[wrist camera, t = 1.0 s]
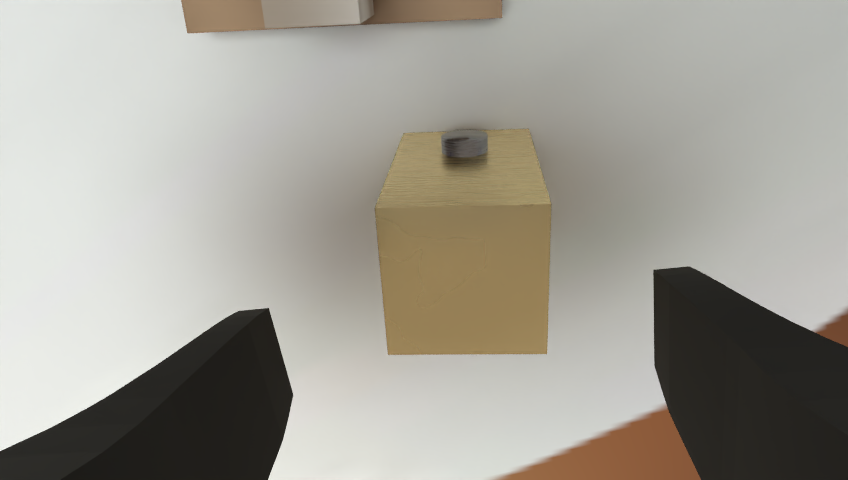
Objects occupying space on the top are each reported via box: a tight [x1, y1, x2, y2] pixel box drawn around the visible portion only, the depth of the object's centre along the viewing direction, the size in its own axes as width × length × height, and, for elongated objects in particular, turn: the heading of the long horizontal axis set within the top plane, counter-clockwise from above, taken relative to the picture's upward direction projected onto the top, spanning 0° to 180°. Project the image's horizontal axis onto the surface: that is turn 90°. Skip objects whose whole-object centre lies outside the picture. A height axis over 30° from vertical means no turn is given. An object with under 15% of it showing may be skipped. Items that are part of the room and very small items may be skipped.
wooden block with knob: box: [375, 129, 551, 355], centre depth 17 cm, size 4×4×6 cm
